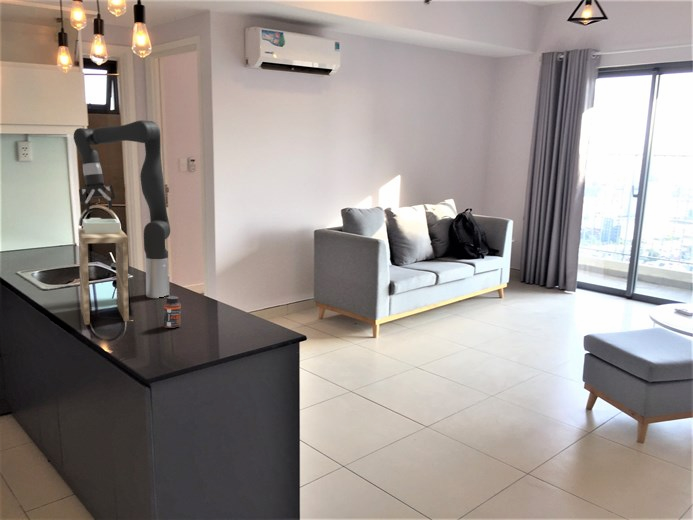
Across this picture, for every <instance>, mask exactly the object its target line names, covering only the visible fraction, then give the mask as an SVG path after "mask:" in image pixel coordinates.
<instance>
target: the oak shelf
mask: <svg viewBox="0 0 693 520" xmlns="http://www.w3.org/2000/svg"><path fill="white" fill-rule="evenodd" d="M77 230H78V233H77V234H78V255H79V257H78V261H79V262H78V263H79V290H80V291H79V293H80V294H79V295H80V311H81V315H82V318H83V323H84V325H90V324H91V323H90V322H91V321H90V319H91V318H90V315H91V314H90V287H89V285H90V281H89V251H88V249H89V247H88V244H112V243H114V244H115V269H116V270H115V271H116V273H115V274H116V275H115V276H116V308H117V309H118V312H119V314H120V316H121V317H122V319H123V322H129V320H130V317H129V315H130V314H129V313H130V312H129V309H130V307H129V306H130V305H129V252H128V251H129V247H128V245H129V237H128V235H127V234H126V233H125V232H124V231H123V230H122V229H121V228H120V234H85V233H84V231H83V227H82V228H79V227H78V229H77Z"/></svg>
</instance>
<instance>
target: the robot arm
mask: <svg viewBox="0 0 693 520" xmlns="http://www.w3.org/2000/svg"><path fill="white" fill-rule="evenodd" d="M161 140H162V139H161V130H160V127H159V124H157V122H155V121H152V120H143V119H142V120H136V121H133V122H130V123H127V124H123V125H122V124H121V125H112V126H101V127H100V126H99V127H96V128H85V127H78V128H76V129H75V130H74V132H73V141H74V144H75V146H76V148H77V150H78V152H79V154H80V156H81V157H80V158H81V162H82V173H83V177H84V184H85V188H79V189H78V193H79V202H80V203H81V204H84V205H85V209H86V211H87V212H88V213H90V212H91V209H90V204H89V202H90V200H91V199H92V198H95V199H96V198H101V197H103V198H104V199H106V200H107V205H108V210H109V211H110V210H111V209H112V208H113V204H112V201H113V200H115V198H116V196H115V191H114V188H113V187H114V186H113V185H108V186H106V185H105V182H104V175H103V170H102V166H101V163H100V157H99V153H98V150H95V149H93V148H92V146H98V145H103V144H115V143H118V142H124V141H125V142H127V141H128V142H135V143H140V144H144V147H145V148H144V149H145V156H144V157H145V158H144V161H143V164H142V166H141V169H140V185H141V192H142V194H143V196H144V199H145V202H146V204H147V206H148V210H149V218H150V219H149V220H150V222H148V223H147V224H146V225H145V226H144V228H143V250H144V253H145V295H146V297H147V298H149V299H160V298H159V297H164V296H166V295H169V296H170V275H169V251H168V250H167V249H166V240H168V238H169V237H170V234H171V225H170V221H169V217H168V212H167V206H166V204H167V203H166V193H165V182H164V176H163V175H164V174H163V168H162V164H163V163H162V154H161V149H162V147H161V142H162V141H161ZM106 190H107V191H109V192H110V196H111V197H110V196H109V195H108V194H106ZM85 193H87V194H88V196H87V198H86V200H84V196H83V195H84V194H85ZM164 298H165V297H164Z"/></svg>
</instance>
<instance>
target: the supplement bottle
mask: <svg viewBox="0 0 693 520" xmlns="http://www.w3.org/2000/svg"><path fill="white" fill-rule="evenodd" d="M181 305H182V304H181V302H179V297H178V296H175V295H169V297H166V302H164V304H163V327H164V328H165V329H167V328H175V327H178V326H180V327H181V319H182V318H181V315H182V314H181V312H182V306H181Z"/></svg>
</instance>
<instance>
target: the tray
mask: <svg viewBox="0 0 693 520" xmlns="http://www.w3.org/2000/svg"><path fill="white" fill-rule="evenodd" d="M82 228H83V231H84V233H85V234H120V229H121V222H120V221H119V220H118V219H116V218H101V217H89V218H82Z"/></svg>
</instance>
